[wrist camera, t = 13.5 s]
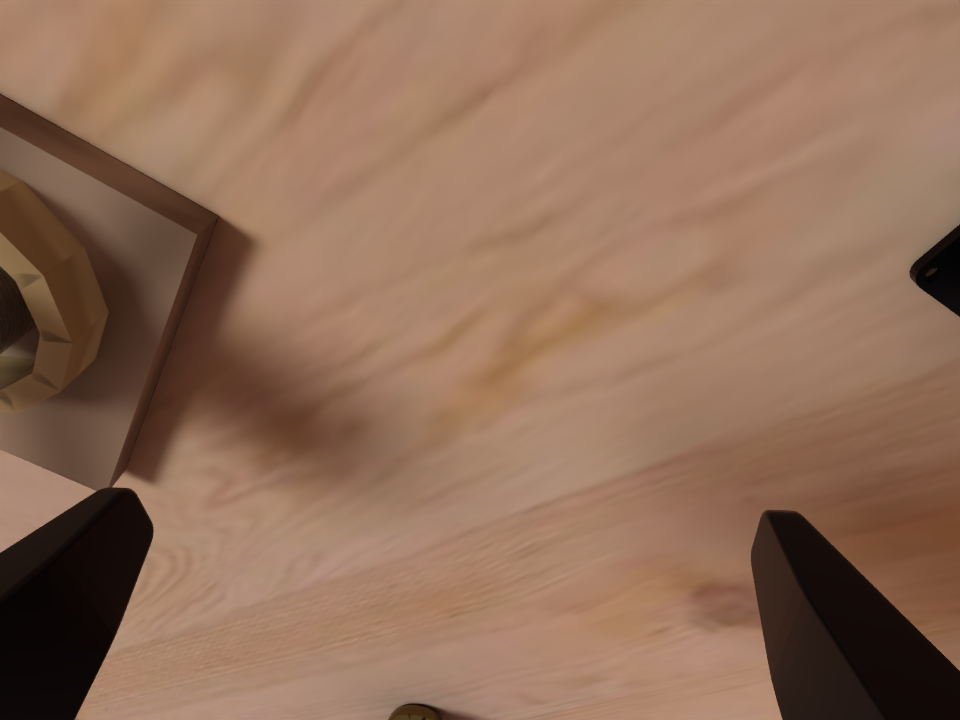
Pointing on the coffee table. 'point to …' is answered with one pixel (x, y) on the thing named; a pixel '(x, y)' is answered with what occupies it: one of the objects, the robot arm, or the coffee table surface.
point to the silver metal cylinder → (12, 312)
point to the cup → (414, 713)
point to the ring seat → (87, 295)
